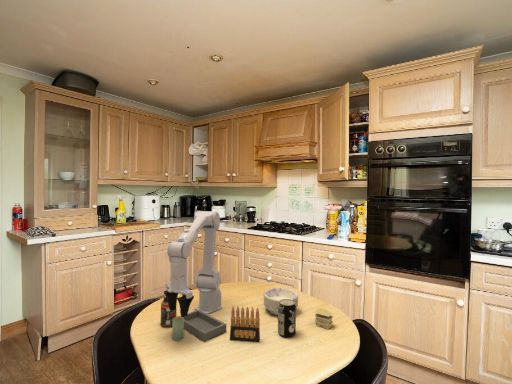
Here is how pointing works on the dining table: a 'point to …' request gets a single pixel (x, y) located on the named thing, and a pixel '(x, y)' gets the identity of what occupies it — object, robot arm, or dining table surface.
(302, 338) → the dining table surface
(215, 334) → the trough
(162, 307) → the supplement bottle
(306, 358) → the dining table surface
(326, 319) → the layered tan block
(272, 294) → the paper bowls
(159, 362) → the dining table surface
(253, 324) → the ammunition clip
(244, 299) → the dining table surface
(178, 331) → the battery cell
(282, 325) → the beverage can
